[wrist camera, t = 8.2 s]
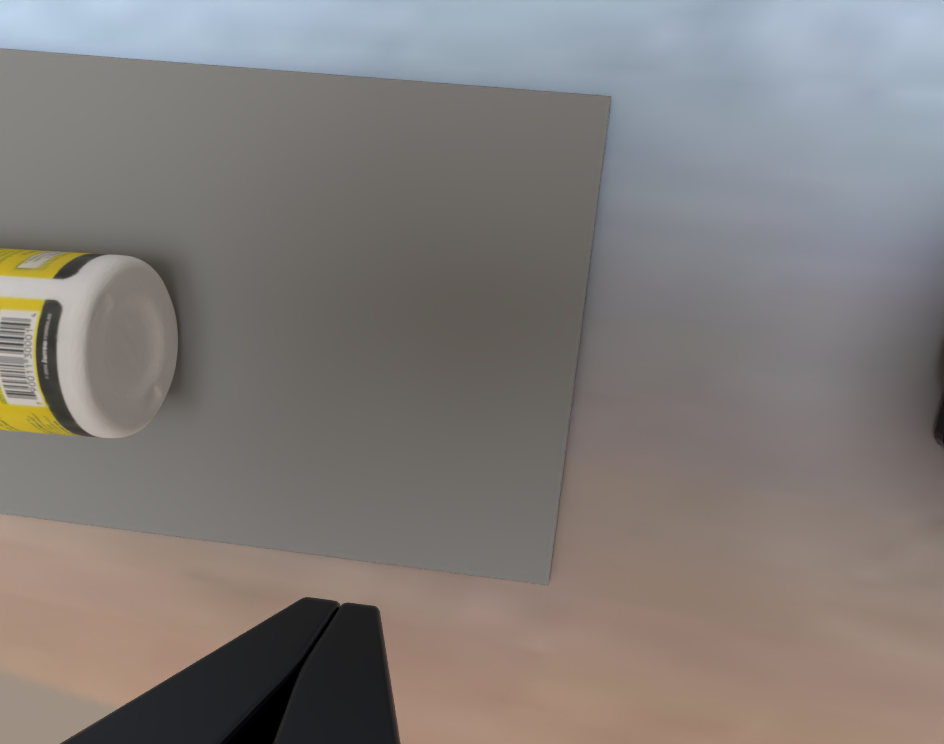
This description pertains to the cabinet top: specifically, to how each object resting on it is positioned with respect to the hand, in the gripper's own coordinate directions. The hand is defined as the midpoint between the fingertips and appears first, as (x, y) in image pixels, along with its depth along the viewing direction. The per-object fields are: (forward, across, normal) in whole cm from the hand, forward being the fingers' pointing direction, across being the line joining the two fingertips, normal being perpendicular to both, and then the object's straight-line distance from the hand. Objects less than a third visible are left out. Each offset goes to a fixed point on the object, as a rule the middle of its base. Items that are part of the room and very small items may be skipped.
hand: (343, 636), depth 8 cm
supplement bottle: (+10, +8, 0) cm, 13 cm away
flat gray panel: (+13, +7, 0) cm, 15 cm away
